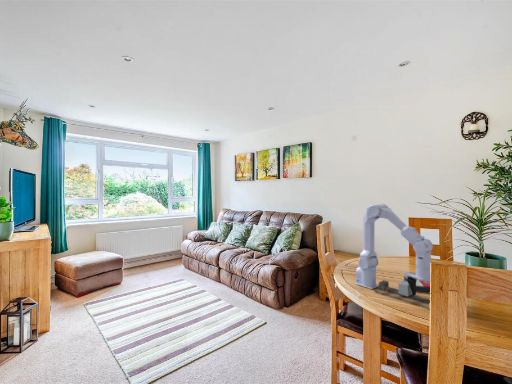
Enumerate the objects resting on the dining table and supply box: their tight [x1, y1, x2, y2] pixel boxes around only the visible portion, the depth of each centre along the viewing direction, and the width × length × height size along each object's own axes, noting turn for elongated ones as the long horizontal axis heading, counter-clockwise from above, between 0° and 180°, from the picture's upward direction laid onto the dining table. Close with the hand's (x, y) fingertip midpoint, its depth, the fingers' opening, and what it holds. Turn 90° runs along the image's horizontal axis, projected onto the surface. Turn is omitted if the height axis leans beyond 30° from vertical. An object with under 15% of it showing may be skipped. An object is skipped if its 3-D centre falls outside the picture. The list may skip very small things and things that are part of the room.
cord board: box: [374, 280, 430, 310], centre depth 114 cm, size 25×10×4 cm, turn 37°
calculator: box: [403, 275, 430, 294], centre depth 127 cm, size 11×4×15 cm
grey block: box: [397, 280, 412, 296], centre depth 114 cm, size 4×6×5 cm
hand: (423, 297), depth 108 cm, fingers open, 7 cm apart
